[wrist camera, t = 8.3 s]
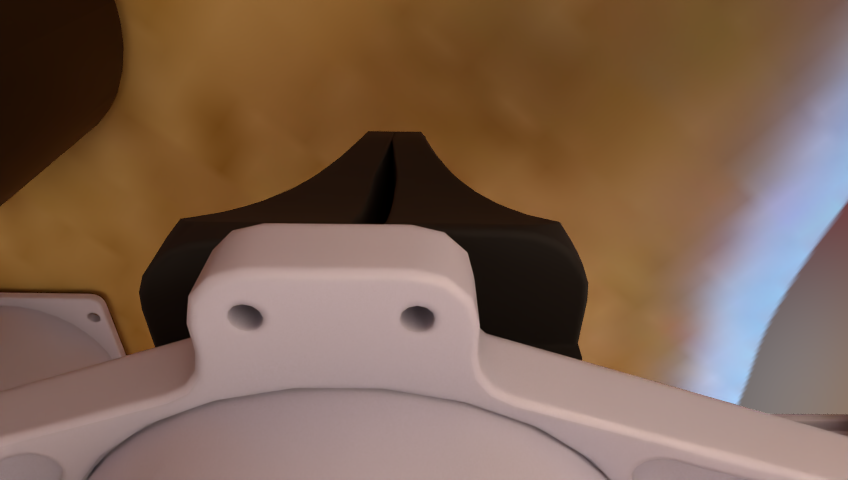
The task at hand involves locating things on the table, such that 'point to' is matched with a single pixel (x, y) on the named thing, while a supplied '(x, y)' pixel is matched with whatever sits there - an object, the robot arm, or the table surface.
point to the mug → (53, 80)
